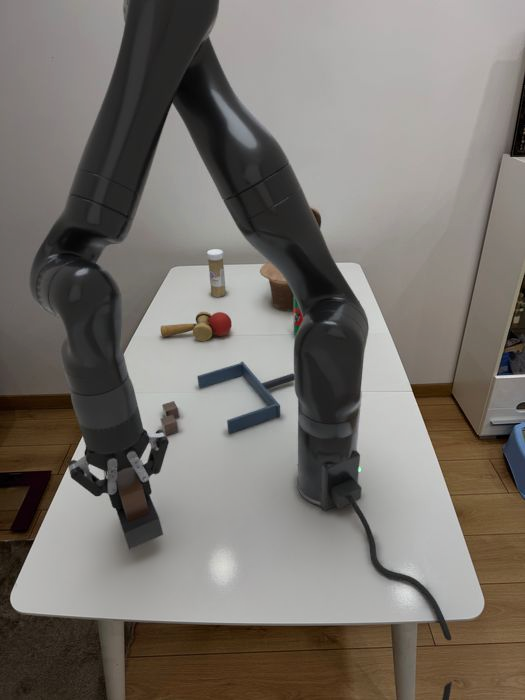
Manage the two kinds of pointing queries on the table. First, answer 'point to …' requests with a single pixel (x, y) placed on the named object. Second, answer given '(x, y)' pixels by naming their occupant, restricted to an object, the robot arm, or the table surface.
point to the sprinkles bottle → (216, 272)
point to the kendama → (202, 326)
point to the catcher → (259, 387)
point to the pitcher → (282, 280)
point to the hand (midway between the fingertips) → (132, 500)
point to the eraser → (136, 510)
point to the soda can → (296, 316)
